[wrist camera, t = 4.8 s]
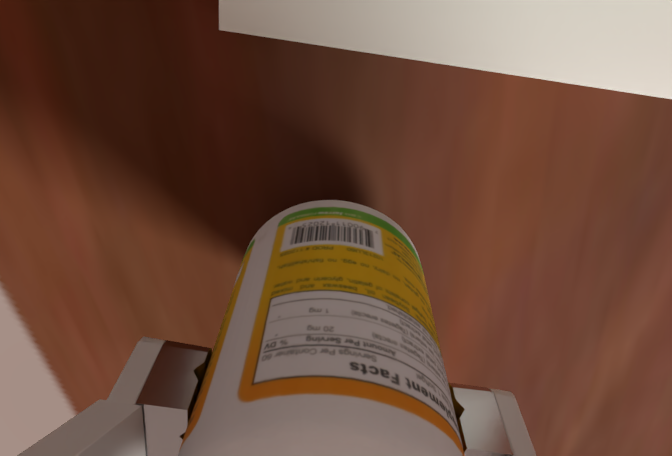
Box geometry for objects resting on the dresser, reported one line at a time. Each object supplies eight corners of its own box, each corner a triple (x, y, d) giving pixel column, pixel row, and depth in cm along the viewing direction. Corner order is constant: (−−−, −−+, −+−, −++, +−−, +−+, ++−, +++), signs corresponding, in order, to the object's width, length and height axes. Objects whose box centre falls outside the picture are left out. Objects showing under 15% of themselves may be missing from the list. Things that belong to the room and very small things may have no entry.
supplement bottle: (322, 354, 16) (292, 801, 8) (208, 258, 14) (-8, 744, 5) (454, 282, 14) (606, 780, 6) (346, 156, 12) (341, 673, 3)
